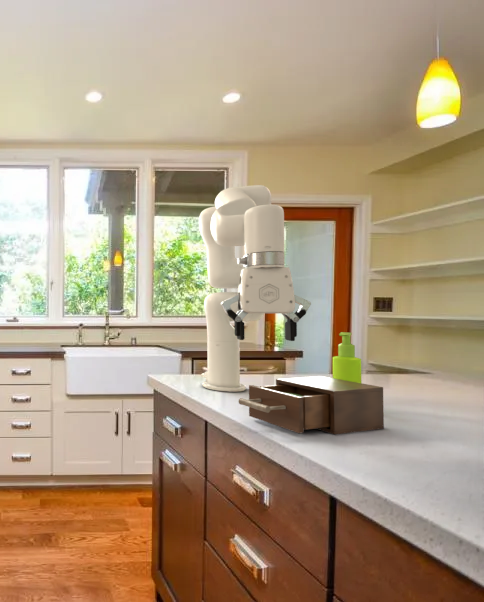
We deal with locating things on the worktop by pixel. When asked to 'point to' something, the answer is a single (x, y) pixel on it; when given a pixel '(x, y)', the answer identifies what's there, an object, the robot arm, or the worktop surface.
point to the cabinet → (346, 403)
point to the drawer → (289, 407)
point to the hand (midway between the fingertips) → (264, 339)
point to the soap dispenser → (346, 361)
